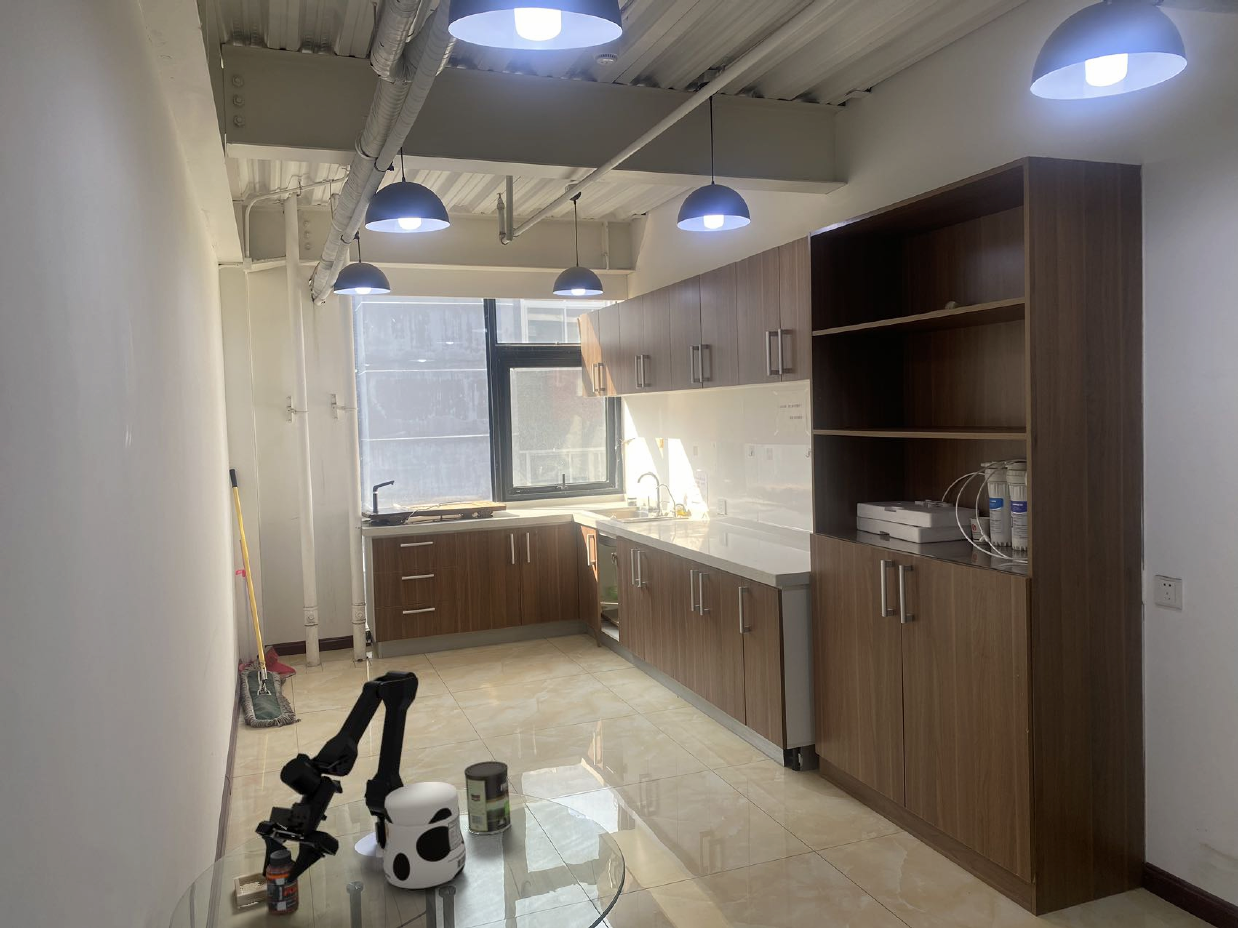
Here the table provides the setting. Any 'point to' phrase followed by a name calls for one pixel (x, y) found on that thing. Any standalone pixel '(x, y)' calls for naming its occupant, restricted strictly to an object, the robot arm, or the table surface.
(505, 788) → the coffee can
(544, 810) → the table surface
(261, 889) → the tray
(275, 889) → the supplement bottle
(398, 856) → the milk container
